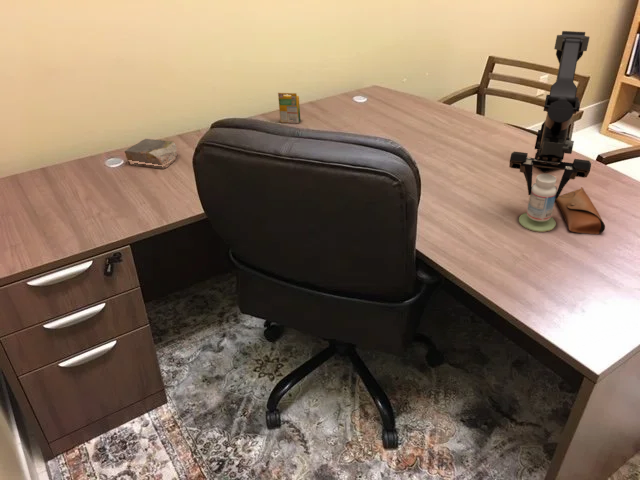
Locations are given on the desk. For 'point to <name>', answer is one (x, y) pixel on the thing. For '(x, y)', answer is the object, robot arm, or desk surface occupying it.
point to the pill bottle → (542, 198)
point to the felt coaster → (536, 224)
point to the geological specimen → (152, 152)
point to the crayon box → (289, 107)
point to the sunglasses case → (580, 213)
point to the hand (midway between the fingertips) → (542, 196)
